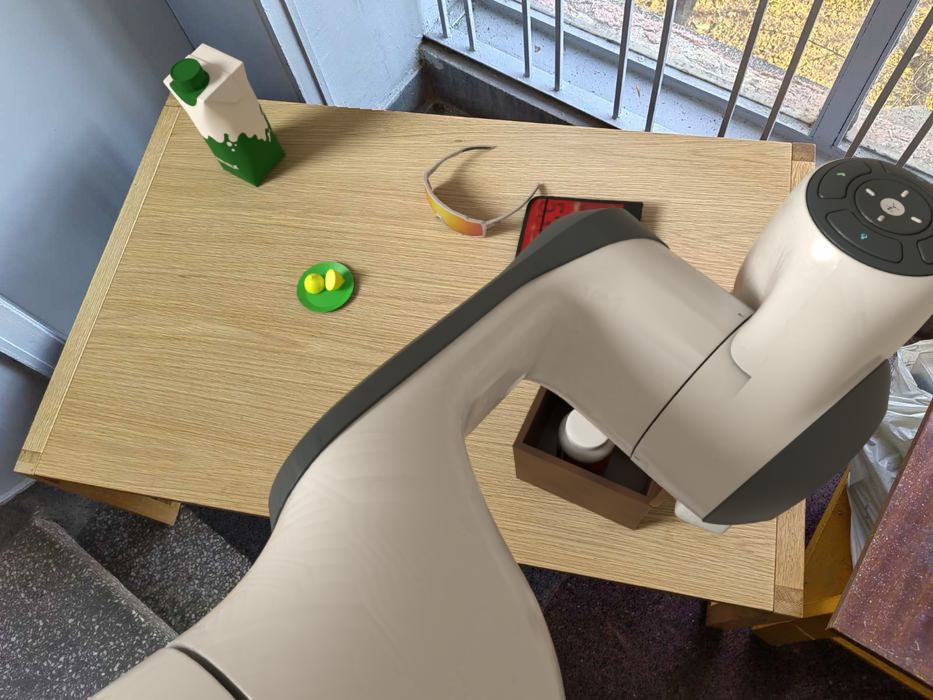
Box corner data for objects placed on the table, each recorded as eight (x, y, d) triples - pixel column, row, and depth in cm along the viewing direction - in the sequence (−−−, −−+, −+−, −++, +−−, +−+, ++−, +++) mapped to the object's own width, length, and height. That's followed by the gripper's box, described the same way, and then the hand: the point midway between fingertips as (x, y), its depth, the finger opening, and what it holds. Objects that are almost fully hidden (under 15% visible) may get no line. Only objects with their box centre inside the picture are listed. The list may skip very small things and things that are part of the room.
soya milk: (215, 171, 105) (148, 69, 87) (253, 131, 108) (195, 24, 90) (257, 194, 102) (196, 94, 84) (294, 152, 105) (244, 46, 87)
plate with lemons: (346, 256, 96) (341, 245, 94) (361, 303, 93) (356, 292, 90) (292, 274, 96) (286, 264, 93) (305, 322, 92) (298, 312, 90)
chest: (516, 477, 81) (512, 446, 69) (554, 394, 85) (556, 350, 73) (634, 530, 77) (651, 506, 65) (668, 440, 81) (691, 402, 69)
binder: (644, 200, 92) (626, 339, 84) (642, 210, 94) (624, 346, 86) (527, 190, 96) (499, 323, 88) (528, 200, 98) (501, 331, 90)
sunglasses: (406, 199, 99) (404, 174, 95) (482, 150, 104) (483, 124, 100) (472, 257, 94) (472, 234, 90) (548, 202, 99) (552, 178, 95)
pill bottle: (619, 465, 79) (631, 437, 69) (573, 489, 79) (578, 465, 69) (591, 421, 82) (599, 387, 72) (547, 444, 81) (548, 413, 71)
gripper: (779, 529, 39) (720, 561, 51) (865, 249, 46) (794, 337, 58) (672, 484, 41) (640, 525, 53) (770, 219, 47) (721, 311, 60)
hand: (721, 425), depth 56 cm, fingers closed, pressing on chest lid
